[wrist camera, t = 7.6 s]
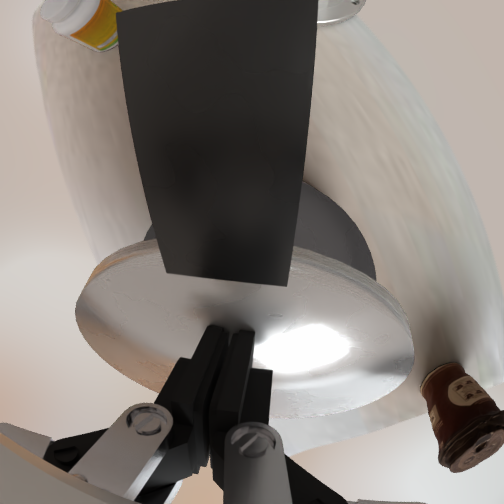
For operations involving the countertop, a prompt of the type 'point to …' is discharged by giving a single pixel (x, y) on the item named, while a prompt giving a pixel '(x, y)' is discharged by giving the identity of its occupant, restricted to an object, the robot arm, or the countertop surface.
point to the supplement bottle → (84, 21)
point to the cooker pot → (326, 231)
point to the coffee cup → (462, 418)
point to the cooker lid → (235, 215)
